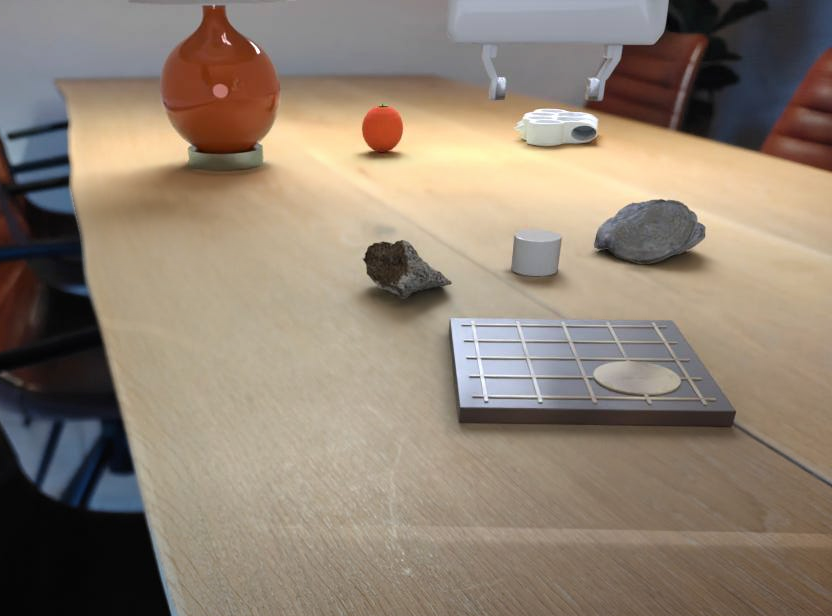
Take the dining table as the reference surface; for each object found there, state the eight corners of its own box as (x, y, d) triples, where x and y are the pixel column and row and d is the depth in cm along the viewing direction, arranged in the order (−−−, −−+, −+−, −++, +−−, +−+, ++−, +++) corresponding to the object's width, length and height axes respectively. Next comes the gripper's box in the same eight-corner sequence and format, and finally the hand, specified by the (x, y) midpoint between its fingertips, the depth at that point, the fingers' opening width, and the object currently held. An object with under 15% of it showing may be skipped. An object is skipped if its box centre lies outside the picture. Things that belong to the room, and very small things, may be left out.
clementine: (362, 147, 158) (362, 99, 153) (402, 147, 158) (403, 99, 153) (361, 155, 152) (361, 106, 147) (402, 155, 151) (404, 106, 147)
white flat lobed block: (595, 147, 156) (509, 144, 159) (596, 130, 170) (518, 128, 173) (598, 125, 154) (511, 122, 157) (599, 110, 168) (520, 108, 171)
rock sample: (487, 253, 89) (423, 193, 85) (455, 319, 88) (388, 262, 84) (428, 276, 98) (368, 223, 94) (398, 337, 97) (336, 286, 93)
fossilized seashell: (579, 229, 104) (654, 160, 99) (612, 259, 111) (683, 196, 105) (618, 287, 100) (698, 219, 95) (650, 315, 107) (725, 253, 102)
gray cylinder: (554, 263, 100) (558, 229, 98) (560, 276, 96) (565, 241, 94) (509, 262, 101) (512, 229, 98) (513, 276, 97) (516, 241, 94)
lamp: (120, 173, 141) (72, -158, 117) (191, 146, 159) (162, -145, 136) (267, 183, 134) (247, -166, 111) (323, 153, 153) (317, -151, 129)
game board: (669, 333, 82) (673, 318, 81) (732, 426, 66) (737, 409, 66) (448, 330, 83) (449, 316, 82) (458, 422, 67) (460, 405, 66)
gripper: (449, -82, 78) (439, 103, 87) (689, -82, 77) (655, 105, 86) (446, -81, 83) (437, 94, 92) (671, -80, 82) (641, 96, 91)
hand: (544, 99), depth 89 cm, fingers open, 8 cm apart
